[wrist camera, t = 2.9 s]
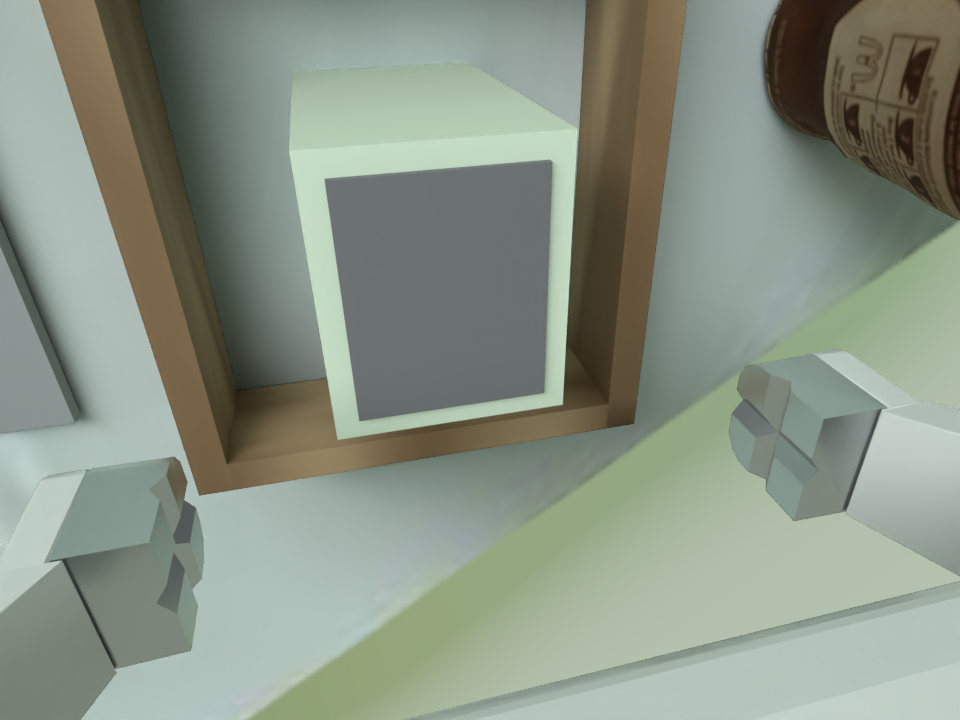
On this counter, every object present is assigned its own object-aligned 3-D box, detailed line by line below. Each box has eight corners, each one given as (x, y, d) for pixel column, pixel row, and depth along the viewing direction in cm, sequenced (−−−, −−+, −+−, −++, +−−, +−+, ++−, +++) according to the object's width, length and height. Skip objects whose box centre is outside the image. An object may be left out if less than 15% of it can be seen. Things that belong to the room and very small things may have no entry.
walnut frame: (630, -154, 17) (709, -180, 14) (590, 363, 26) (633, 423, 22) (48, -158, 15) (-23, -191, 12) (213, 418, 23) (199, 495, 20)
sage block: (468, 61, 19) (580, 130, 12) (474, 255, 22) (564, 408, 15) (292, 71, 18) (288, 153, 11) (323, 271, 22) (337, 444, 14)
